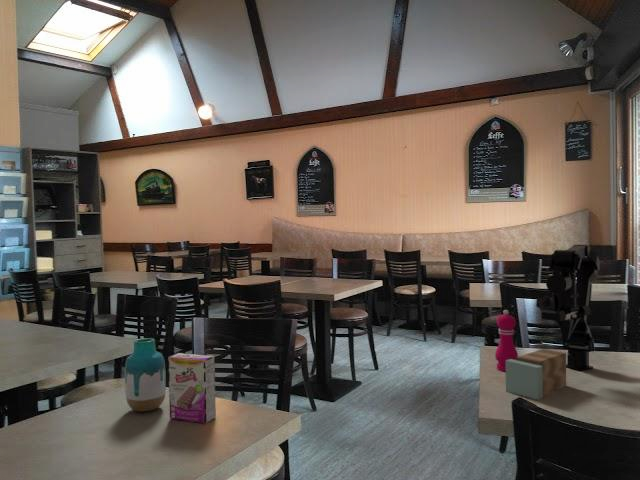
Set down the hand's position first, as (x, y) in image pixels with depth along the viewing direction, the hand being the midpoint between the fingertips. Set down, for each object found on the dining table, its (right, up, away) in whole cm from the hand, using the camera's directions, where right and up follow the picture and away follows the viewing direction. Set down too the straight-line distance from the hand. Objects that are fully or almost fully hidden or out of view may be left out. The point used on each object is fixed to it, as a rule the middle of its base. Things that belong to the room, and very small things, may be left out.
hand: (566, 339), depth 162 cm
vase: (-125, -15, -21) cm, 127 cm away
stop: (-19, -13, -15) cm, 27 cm away
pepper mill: (-15, -12, +11) cm, 22 cm away
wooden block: (-12, -13, -9) cm, 20 cm away
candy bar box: (-110, -15, -28) cm, 115 cm away
